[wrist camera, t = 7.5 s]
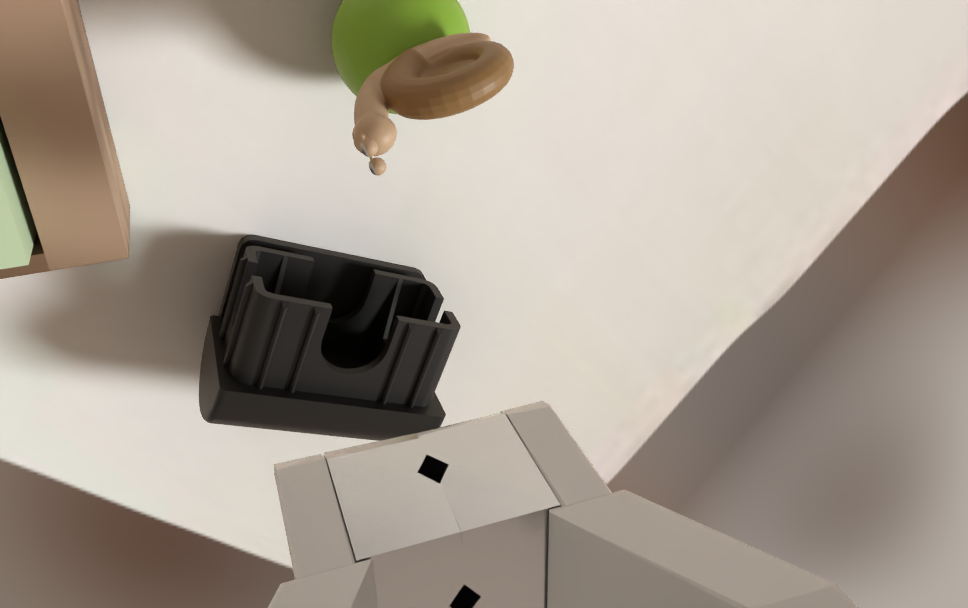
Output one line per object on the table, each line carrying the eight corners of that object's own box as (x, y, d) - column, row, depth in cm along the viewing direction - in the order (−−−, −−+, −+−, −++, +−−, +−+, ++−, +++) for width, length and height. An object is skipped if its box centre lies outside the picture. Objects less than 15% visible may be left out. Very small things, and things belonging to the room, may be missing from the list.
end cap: (193, 363, 40) (201, 452, 35) (230, 229, 38) (245, 301, 32) (390, 390, 45) (425, 472, 39) (434, 271, 42) (479, 341, 37)
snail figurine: (275, 1, 34) (329, 81, 24) (421, -63, 35) (531, -10, 25) (331, 122, 37) (399, 237, 27) (464, 62, 38) (578, 152, 28)
